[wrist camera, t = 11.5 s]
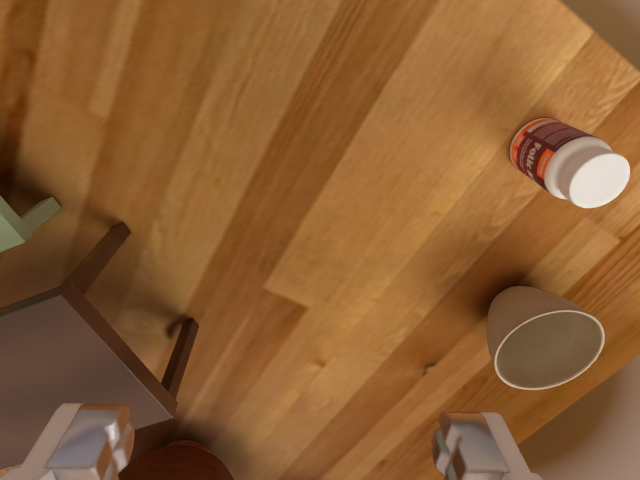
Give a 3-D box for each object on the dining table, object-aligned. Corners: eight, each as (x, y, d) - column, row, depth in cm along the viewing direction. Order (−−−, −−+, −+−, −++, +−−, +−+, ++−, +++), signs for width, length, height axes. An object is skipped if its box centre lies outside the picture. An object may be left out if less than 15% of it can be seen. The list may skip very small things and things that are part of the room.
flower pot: (562, 323, 44) (604, 374, 38) (473, 347, 46) (500, 400, 39) (559, 252, 40) (607, 297, 33) (460, 281, 41) (488, 330, 35)
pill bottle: (503, 130, 33) (560, 163, 26) (562, 107, 32) (637, 135, 25) (512, 179, 35) (566, 223, 28) (566, 159, 35) (637, 199, 27)
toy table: (-36, 281, 38) (-147, 370, 29) (124, 219, 36) (60, 294, 26) (61, 373, 45) (-3, 471, 36) (201, 327, 42) (173, 418, 33)
